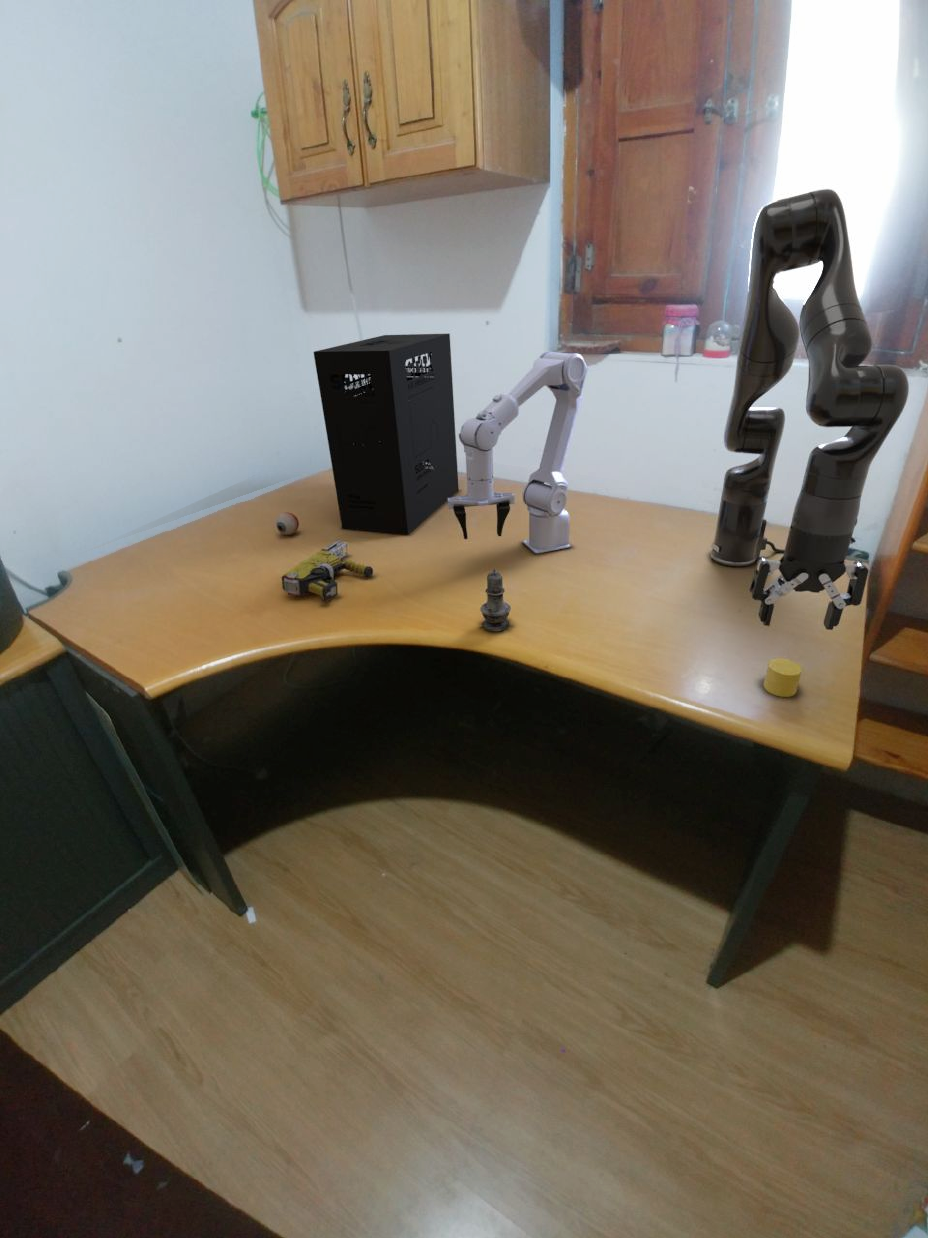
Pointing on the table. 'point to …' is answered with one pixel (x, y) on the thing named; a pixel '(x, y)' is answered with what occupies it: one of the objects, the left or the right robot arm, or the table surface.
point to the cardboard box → (390, 429)
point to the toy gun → (321, 572)
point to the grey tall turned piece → (495, 604)
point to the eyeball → (287, 523)
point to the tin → (782, 677)
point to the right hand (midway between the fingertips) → (795, 625)
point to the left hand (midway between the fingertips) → (482, 536)
